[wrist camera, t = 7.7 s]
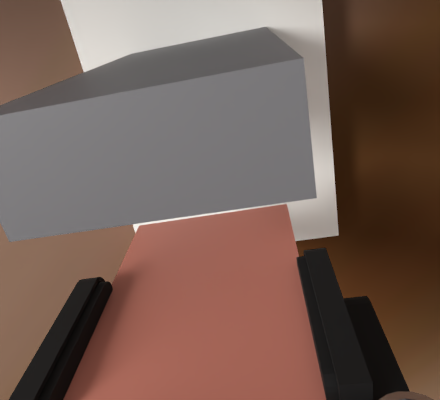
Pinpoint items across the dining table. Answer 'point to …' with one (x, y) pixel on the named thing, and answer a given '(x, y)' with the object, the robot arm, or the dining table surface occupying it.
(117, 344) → the red domino
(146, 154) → the domino
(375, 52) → the dining table surface
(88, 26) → the board
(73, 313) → the robot arm
